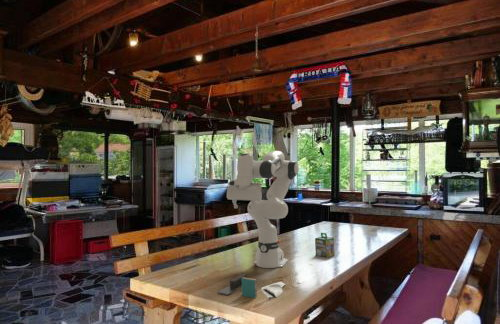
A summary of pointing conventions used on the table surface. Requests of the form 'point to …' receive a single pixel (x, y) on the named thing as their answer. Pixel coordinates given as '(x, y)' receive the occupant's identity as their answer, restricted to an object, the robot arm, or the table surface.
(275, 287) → the cloth
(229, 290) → the turner
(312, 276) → the table surface
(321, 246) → the chalk box
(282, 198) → the robot arm
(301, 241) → the table surface
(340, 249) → the table surface
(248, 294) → the tile
